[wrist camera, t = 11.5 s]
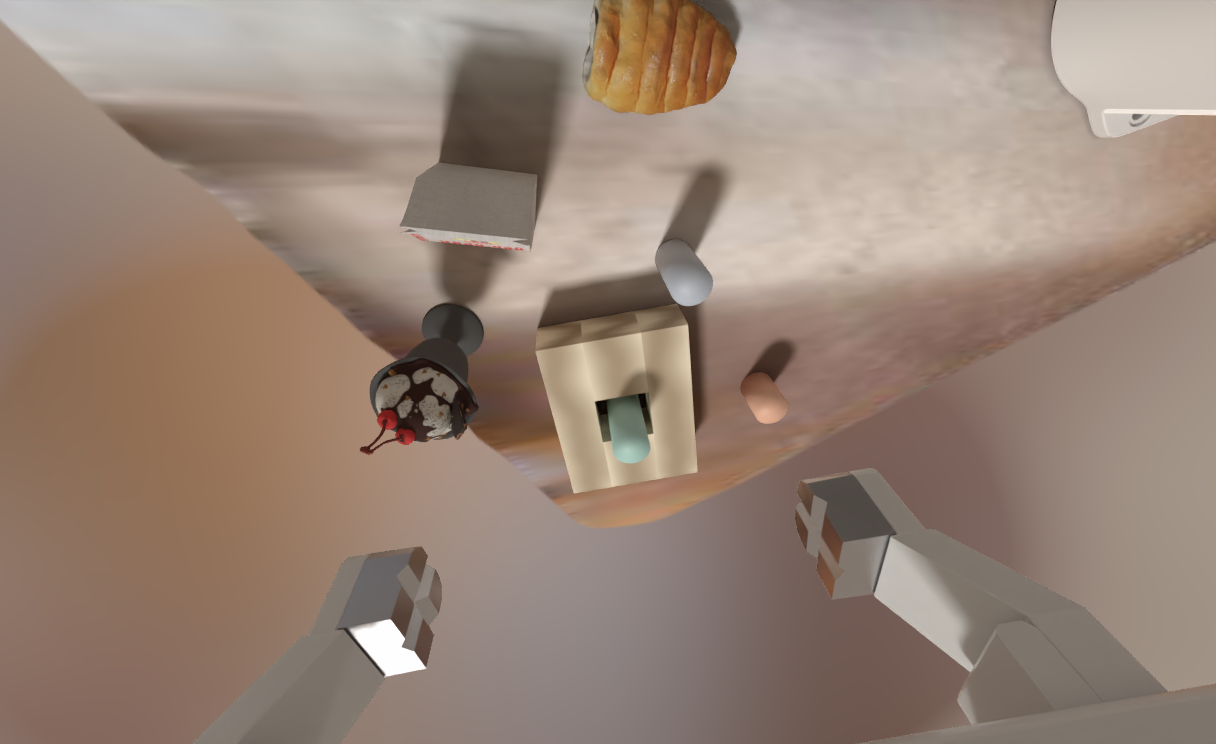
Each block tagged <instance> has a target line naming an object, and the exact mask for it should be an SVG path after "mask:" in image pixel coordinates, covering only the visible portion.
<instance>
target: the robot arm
mask: <svg viewBox="0 0 1216 744" xmlns="http://www.w3.org/2000/svg"><path fill="white" fill-rule="evenodd" d="M1051 50H1052V58H1053V63H1054V67H1055V70H1056V73H1057V75H1058V77H1059V79H1060V81H1061V82H1062V84H1063V85H1064V87H1065V88H1066V89H1067V90H1068V91H1069V92H1070V93H1071V94H1072V95H1074V96H1075V97H1076V98H1077V99H1079V100H1080V101H1081V102H1082V103H1083V104H1084V105H1085V107H1086V108H1087V112H1088V117H1089V121H1090V125H1091V128H1092V131H1093V133H1094V134H1095V135H1096V136H1097V137H1100V138H1115V137H1120V136H1123V135H1126V134H1128V133H1131V132H1134V131H1136V130H1139V129H1142V128H1145V127H1147V126H1150V125H1153V124H1156V123H1158V122H1161V121H1164V120H1167V119H1169V118H1172V117H1175V116H1178V115H1216V0H1057V2H1056V6H1055V11H1054V16H1053V22H1052V32H1051ZM797 494H798V496H799V498H800V499H801V502H800V503H799V504H798V505H797V506H796V507H795V522H796V527H797V532H798V534H799V537H800V540H801V542H802V544H803V546H804V548H805V550H806V551H807V552H808V553H810V554H811V555H813V556H814V557H816V558H817V559H818V560H817V567H816V571H817V573H818V575H819V577H820V578H821V580H822V582H823V584H824V586H825V588H826V590H827V592H828V593H829V595H830V597H831V599H832V600H833V599H840V598H847V597H855V596H862V595H868V594H874V596H875V597H876V598H877V599H878V600H880V601H881V602H882V603H883V604H885V605H886V606H887V607H889V608H890V609H891V610H892V611H894V612H895V613H896V614H897V615H899V616H900V617H901V618H902V619H904V620H905V621H906V622H908V623H909V624H910V625H911V626H913V627H914V628H915V629H916V630H918V631H919V632H920V633H922V634H923V635H924V636H925V637H927V638H928V639H929V640H930V641H932V642H933V643H934V644H936V645H937V646H938V647H939V648H941V649H942V650H943V651H944V652H946V653H947V654H948V655H950V656H951V657H952V658H953V659H955V660H956V661H957V662H958V663H960V664H961V665H962V666H963V667H965V668H966V669H967V670H968V671H970V672H971V673H970V675H969V677H968V678H967V680H966V682H965V684H964V686H963V688H962V689H961V691H960V693H959V696H958V700H957V701H958V703H959V705H960V706H961V708H962V709H963V711H964V713H965V714H966V716H967V717H968V719H969V721H970V722H971V724H972V725H966V726H960V727H954V728H949V729H942V730H937V731H931V732H925V733H918V734H912V735H907V736H900V737H894V738H889V739H882V740H876V741H870V742H864V743H859V744H1216V684H1212V685H1206V686H1199V687H1194V688H1187V689H1181V690H1175V691H1169V692H1168V691H1167V690H1166V689H1165V688H1164V687H1163V686H1162V685H1161V684H1160V683H1159V682H1158V681H1157V680H1156V679H1155V678H1154V677H1153V676H1152V675H1151V674H1150V673H1149V672H1148V671H1147V670H1146V669H1145V668H1144V667H1143V666H1142V665H1141V664H1140V663H1139V662H1138V661H1137V660H1136V659H1135V658H1134V657H1133V656H1132V655H1131V654H1130V653H1129V652H1128V651H1127V650H1126V649H1125V648H1124V647H1123V646H1122V645H1121V644H1120V643H1119V642H1118V641H1117V639H1116V638H1114V637H1113V635H1111V634H1110V633H1109V632H1108V631H1107V629H1105V628H1104V626H1103V625H1102V624H1101V623H1100V622H1099V621H1098V620H1096V618H1095V617H1094V616H1093V615H1092V614H1091V613H1090V612H1089V611H1088V610H1087V609H1086V608H1084V607H1082V606H1081V605H1079V604H1077V603H1075V602H1073V601H1071V600H1069V599H1067V598H1065V597H1063V596H1061V595H1059V594H1057V593H1056V592H1054V591H1052V590H1050V589H1048V588H1046V587H1044V586H1042V585H1040V584H1038V583H1036V582H1035V581H1033V580H1031V579H1028V578H1027V577H1025V576H1023V575H1021V574H1019V573H1017V572H1015V571H1013V570H1012V569H1010V568H1008V567H1006V566H1004V565H1002V564H1000V563H998V562H996V561H994V560H992V559H990V558H989V557H987V556H985V555H983V554H981V553H979V552H977V551H975V550H973V549H971V548H969V547H967V546H966V545H963V544H962V543H960V542H958V541H956V540H954V539H952V538H950V537H948V536H946V535H944V534H943V533H941V532H939V531H937V530H935V529H929V530H926V529H925V528H924V527H923V526H922V525H921V523H920V522H919V521H918V520H917V518H916V517H915V516H914V515H913V514H912V512H911V511H910V510H909V509H908V508H907V507H906V505H905V504H904V503H903V501H902V500H901V499H900V498H899V497H898V496H897V494H896V493H895V492H894V491H893V489H892V488H891V487H890V486H889V485H888V483H887V482H886V481H885V480H884V479H883V477H882V476H881V475H880V474H879V472H878V471H876V470H875V469H873V468H869V469H863V470H857V471H851V472H847V473H846V472H844V473H838V474H832V475H827V476H821V477H817V478H811V479H805V480H801V481H800V482H799V484H798V488H797ZM427 557H428V555H427V554H426V552H425V551H424V549H423V548H422V547H412V548H406V549H399V550H391V551H385V552H378V553H371V554H366V555H359V556H352V557H348V558H347V559H346V560H345V561H344V562H343V563H342V564H341V566H340V568H339V570H338V573H337V575H336V577H335V579H334V581H333V583H332V585H331V588H330V590H329V592H328V594H327V596H326V599H325V601H324V603H323V605H322V607H321V609H320V612H319V614H318V616H317V618H316V620H315V623H314V625H313V627H312V629H311V631H310V633H309V635H305V636H302V637H300V638H299V639H298V640H297V641H296V642H295V643H294V644H293V645H292V646H291V647H290V648H289V649H288V650H287V651H286V652H285V653H284V654H283V655H282V656H281V657H280V658H279V659H278V660H277V661H276V662H275V663H274V664H273V665H272V666H271V667H270V668H269V669H268V670H267V671H266V672H265V673H264V674H263V675H261V676H260V677H259V678H258V679H257V680H256V681H255V683H253V684H252V685H251V686H250V687H249V688H248V689H247V690H246V691H245V692H244V693H243V694H242V695H241V696H240V697H239V698H238V699H237V700H236V701H235V702H234V703H233V704H232V705H231V706H230V707H229V708H228V709H227V710H226V711H225V712H224V713H223V714H222V715H221V716H220V717H219V718H218V719H217V720H216V721H215V722H213V724H211V725H210V727H208V728H207V729H206V730H205V731H204V732H203V733H202V734H201V735H200V736H199V737H198V738H197V739H196V740H195V741H194V742H193V743H192V744H341V742H342V741H343V739H344V738H345V736H346V735H347V733H348V732H349V731H350V729H351V728H352V726H353V725H354V723H355V722H356V721H357V719H358V718H359V716H360V715H361V713H362V712H363V711H364V709H365V708H366V706H367V705H368V703H369V702H370V701H371V699H372V698H373V696H374V695H375V693H376V692H377V690H378V689H379V687H380V686H381V685H382V683H383V682H384V680H385V678H384V677H385V676H391V675H395V674H400V673H405V672H410V671H416V670H420V669H426V667H427V663H428V659H429V654H430V650H431V645H432V641H433V637H434V634H433V632H432V630H431V629H430V626H429V625H430V624H431V623H432V621H433V620H434V619H435V618H436V616H437V615H438V614H439V610H440V606H441V601H442V585H441V582H440V577H439V575H438V573H437V571H436V569H434V568H432V567H430V566H429V565H426V561H427Z"/></svg>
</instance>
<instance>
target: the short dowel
mask: <svg viewBox="0 0 1216 744" xmlns="http://www.w3.org/2000/svg"><path fill="white" fill-rule="evenodd" d="M741 392H742V394H743V396H744V397H745V399H746V401H747V403H748V404H749V406H750V408H751V410H752V411H753V413H754V415H755V417H756V418H757V420H758V421H760V422H762V423H767V424H769V423H774V422H777V421H779V420H780V419H782V418H783V417H784V416H785V415H786V413H787V411H788V402H787V401H786V399H785V398H784V396H783V395H782V394H781V392H780V391H779V389H778V388H777V386H776V385H775V384H774V382H773V381H772V379H771V378H770V376H769V375H768V374H766V373H763V372H756V373H752V374H750V375H748V376H747V377H746V378H745V379H744V380H743V381H742V383H741Z"/></svg>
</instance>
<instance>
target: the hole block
mask: <svg viewBox="0 0 1216 744" xmlns="http://www.w3.org/2000/svg"><path fill="white" fill-rule="evenodd" d="M536 355H537V359H538V362H539V366H540V370H541V373H542V377H543V381H544V384H545V388H546V392H547V395H548V399H549V403H550V406H551V410H552V414H553V418H554V421H555V425H556V429H557V432H558V436H559V440H560V443H561V447H562V451H563V454H564V458H565V462H566V465H567V469H568V473H569V476H570V480H571V484H572V487H573V491H574V493H579V492H585V491H591V490H597V489H602V488H608V487H614V486H620V485H626V484H631V483H637V482H643V481H649V480H655V479H660V478H666V477H672V476H678V475H684V474H690V473H695V472H697V459H696V443H695V427H694V411H693V395H692V379H691V363H690V347H689V331H688V323H687V322H686V320H685V318H684V316H683V314H682V312H681V310H680V308H679V306H678V304H671V305H666V306H660V307H654V308H649V309H643V310H637V311H631V312H626V313H620V314H614V315H608V316H603V317H597V318H591V319H586V320H580V321H574V322H568V323H563V324H557V325H551V326H545V327H540V328H538V329H537V340H536ZM640 393H645V398H646V406H647V407H644V408H641V409H642V414H643V418H644V422H645V426H646V430H647V434H648V438H649V442H650V452H649V454H648V456H647V457H646V458H645V459H643V460H642V461H640V462H637V463H623V462H621V461H619V460H618V459H616V457H615V456H614V454H613V447H612V440H611V433H610V426H609V419H608V414H603V415H600V414H599V409H598V404H597V401H600V400H606V399H612V398H617V397H623V396H629V395H635V394H640Z"/></svg>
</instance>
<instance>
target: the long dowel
mask: <svg viewBox="0 0 1216 744" xmlns="http://www.w3.org/2000/svg"><path fill="white" fill-rule="evenodd" d="M606 404H607V411H608V419H609V426H610V433H611V440H612V447H613V454H614V456H615V457H616V459H618V460H619V461H621V462H623V463H637V462H640V461H642V460H643V459H645V458H646V457H647V456H648V454H649V452H650V442H649V438H648V434H647V430H646V426H645V422H644V418H643V414H642V409H641V405H640V401H639V397H638V394H635V395H629V396H623V397H617V398H612V399H606Z"/></svg>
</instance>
